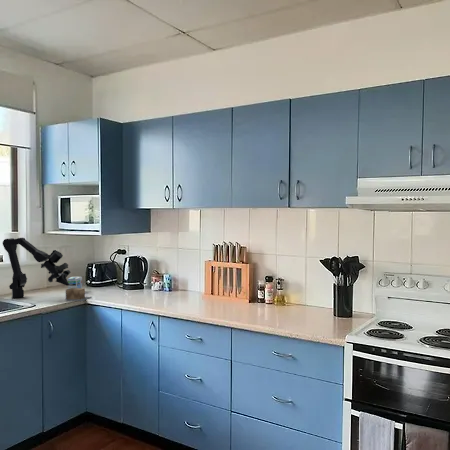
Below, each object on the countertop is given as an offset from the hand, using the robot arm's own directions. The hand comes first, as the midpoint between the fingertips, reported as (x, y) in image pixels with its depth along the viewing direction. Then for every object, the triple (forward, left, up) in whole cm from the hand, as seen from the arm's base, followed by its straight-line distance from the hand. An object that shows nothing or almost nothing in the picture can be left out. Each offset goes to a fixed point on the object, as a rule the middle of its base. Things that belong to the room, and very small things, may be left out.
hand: (68, 285), depth 293 cm
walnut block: (0, 0, -5) cm, 5 cm away
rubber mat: (+5, -5, -9) cm, 11 cm away
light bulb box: (+9, +20, -9) cm, 24 cm away
